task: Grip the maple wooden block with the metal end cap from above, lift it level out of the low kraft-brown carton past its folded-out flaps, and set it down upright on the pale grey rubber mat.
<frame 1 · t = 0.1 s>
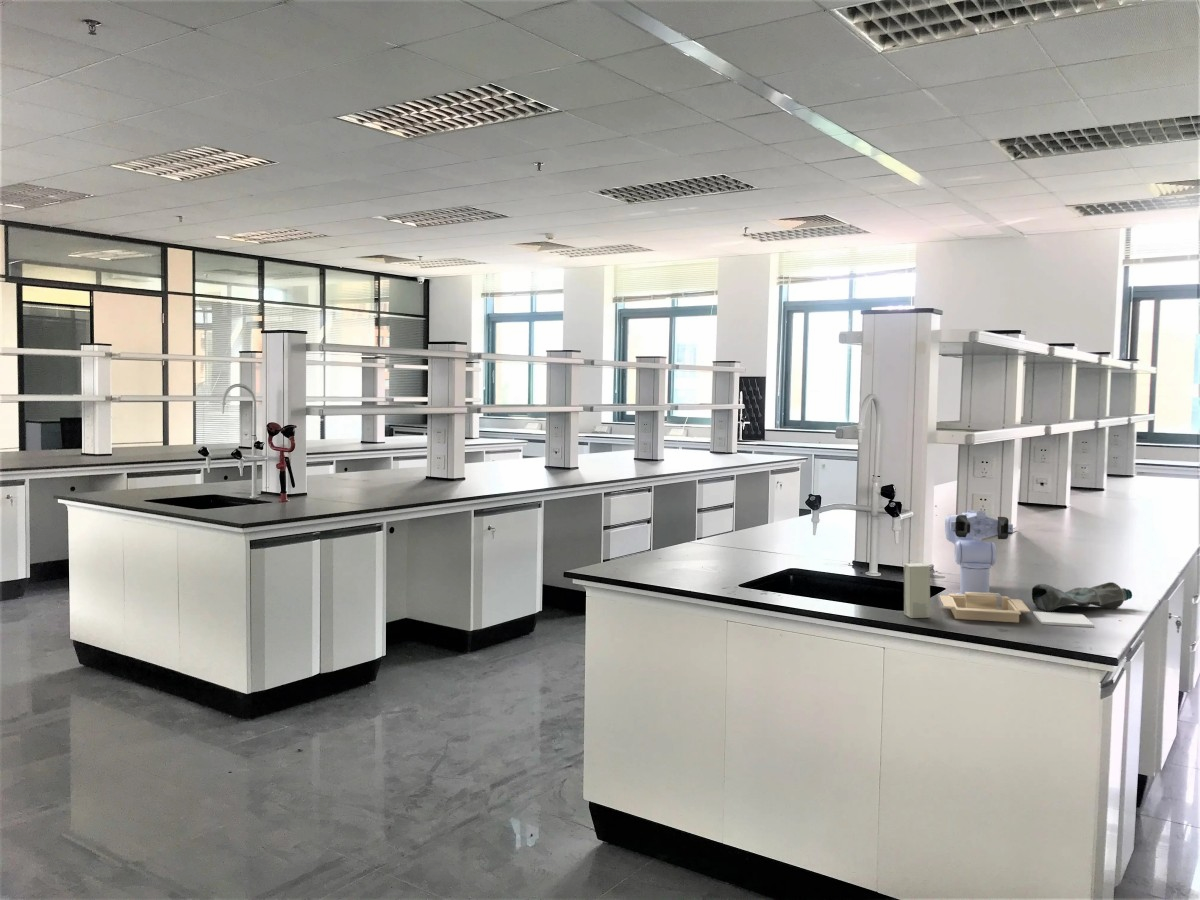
hand: (985, 528, 217), 22 cm above the countertop, fingers open, 7 cm apart
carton: (982, 613, 220), on the countertop
crushed plastic bottle: (1082, 610, 226), on the countertop
box: (916, 617, 218), on the countertop
block: (982, 614, 220), resting in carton
mat: (1062, 620, 214), on the countertop
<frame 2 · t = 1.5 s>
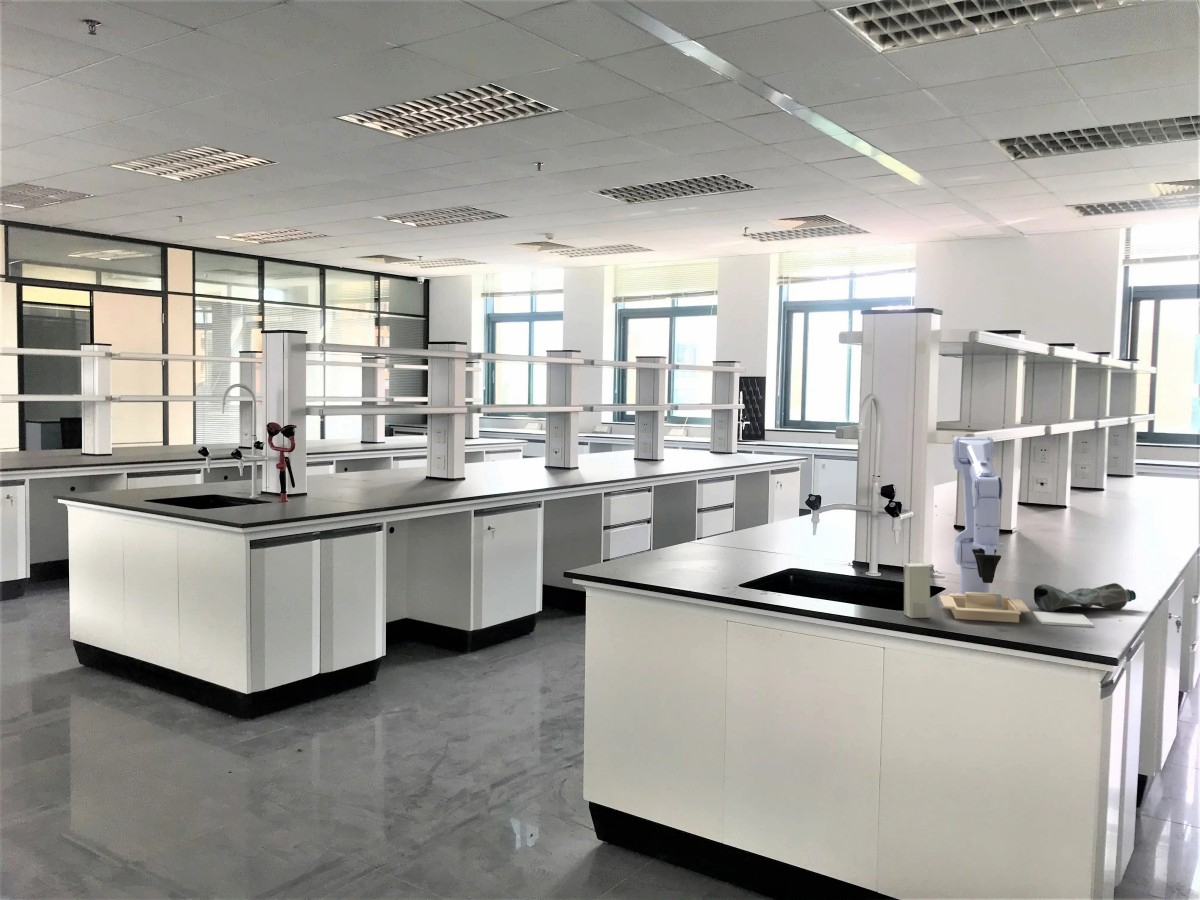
hand: (985, 580, 220), 9 cm above the countertop, fingers open, 7 cm apart
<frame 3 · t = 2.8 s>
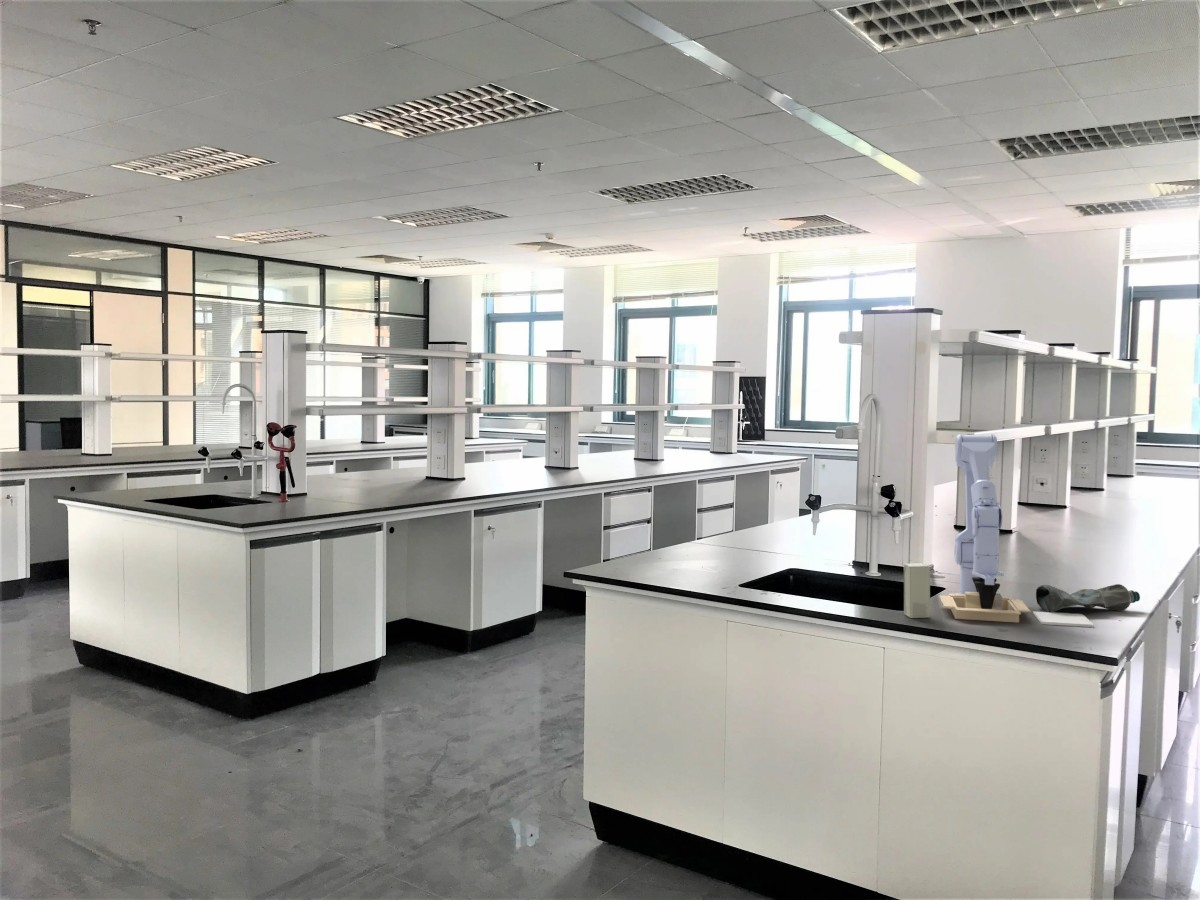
hand: (985, 608, 220), 1 cm above the countertop, fingers closed on block, 4 cm apart
crushed plastic bottle: (1088, 612, 224), on the countertop
block: (982, 614, 220), resting in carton, touching gripper
everything else where it was.
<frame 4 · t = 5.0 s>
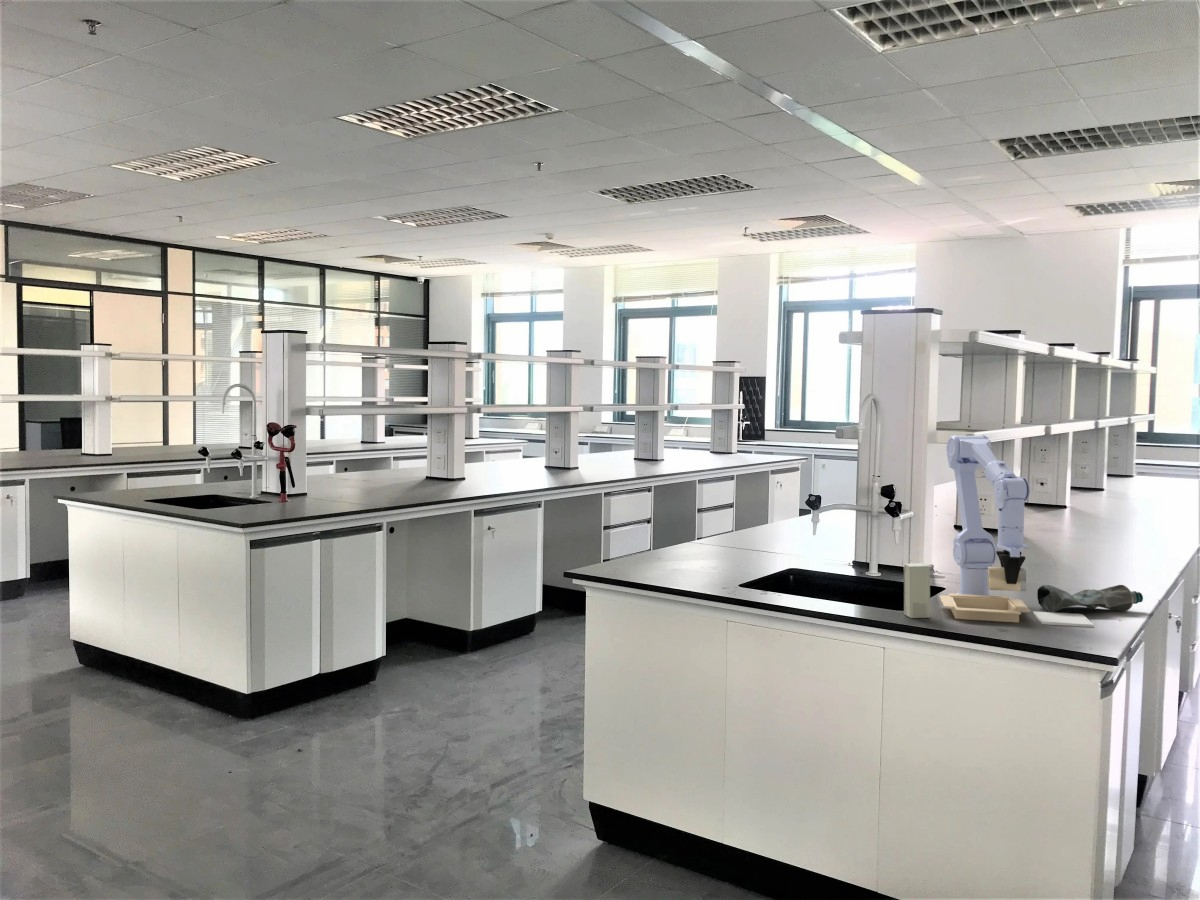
hand: (1009, 582, 218), 8 cm above the countertop, fingers closed on block, 4 cm apart
block: (1006, 589, 218), point 7 cm above the countertop, touching gripper
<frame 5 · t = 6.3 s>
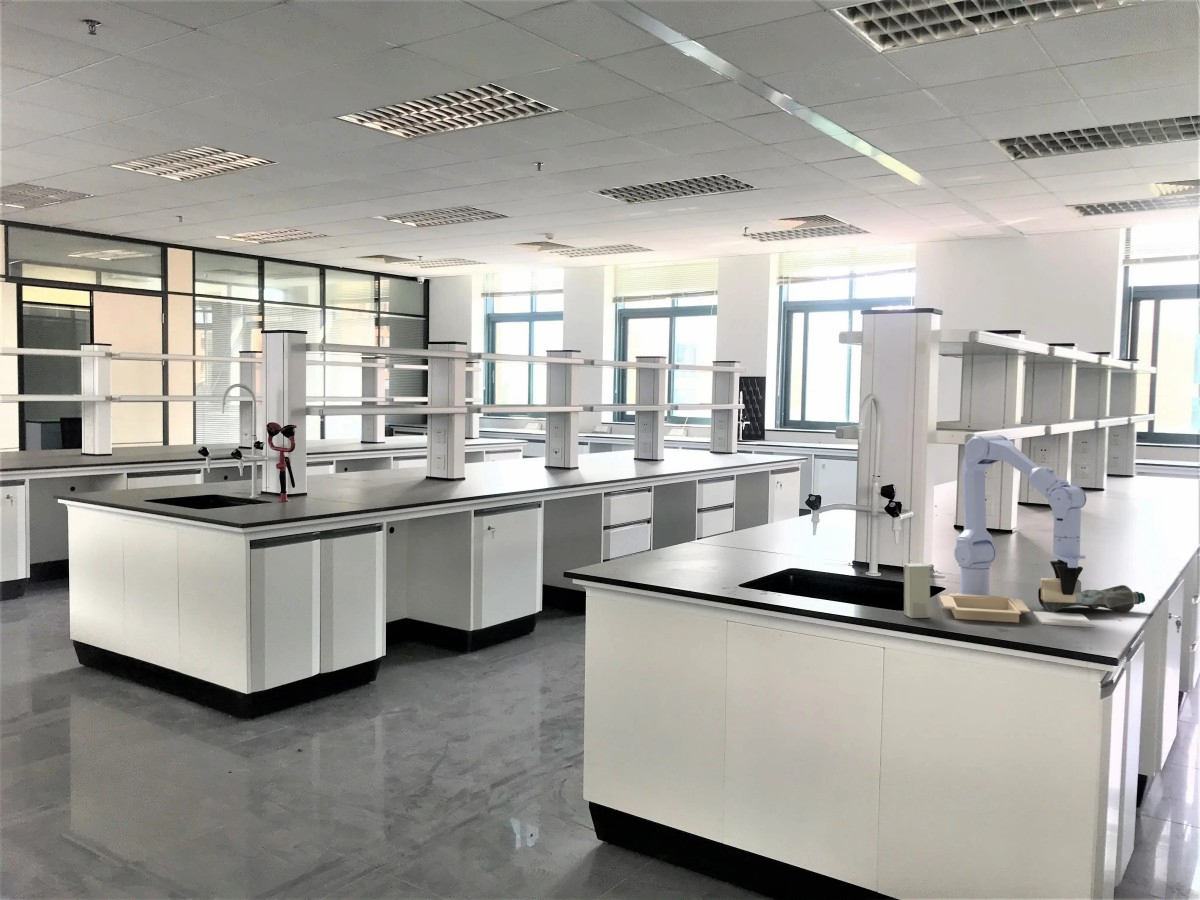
hand: (1065, 592, 213), 7 cm above the countertop, fingers closed on block, 4 cm apart
block: (1060, 600, 214), point 5 cm above the countertop, touching gripper
when the fingers open (3 cm above the countertop, at t = 7.2 s): block stays where it is, resting on mat.
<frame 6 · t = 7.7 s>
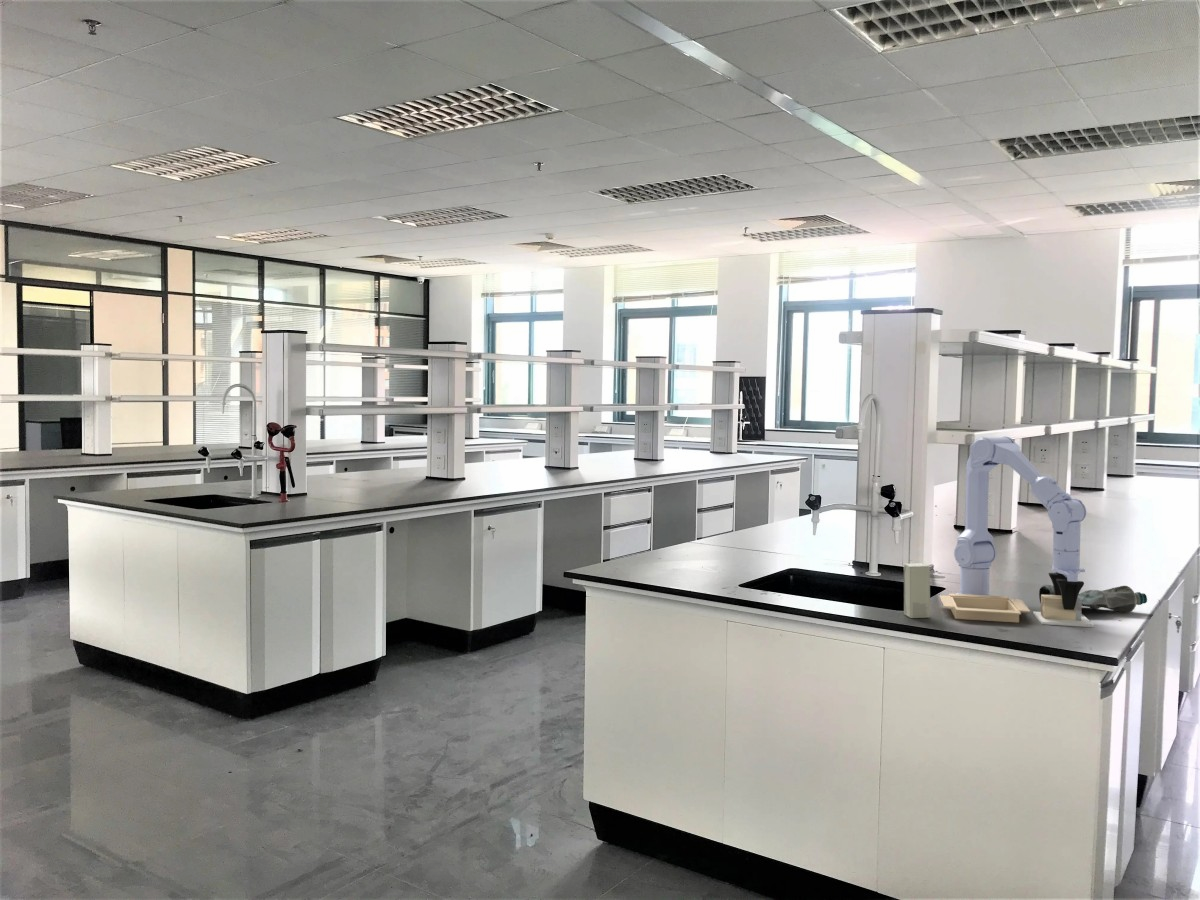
hand: (1065, 606, 213), 4 cm above the countertop, fingers open, 7 cm apart
block: (1060, 617, 214), point 1 cm above the countertop, touching mat
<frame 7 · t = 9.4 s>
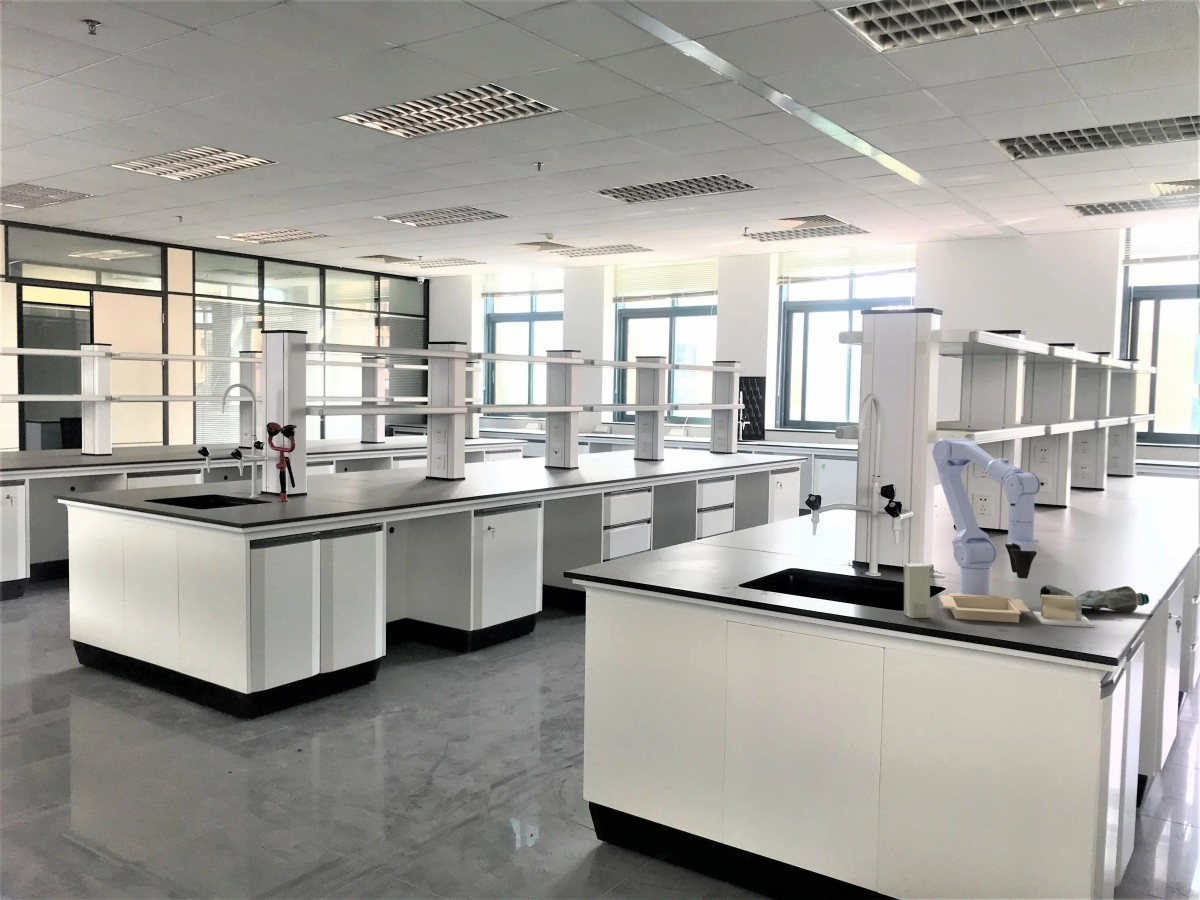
hand: (1019, 575, 222), 9 cm above the countertop, fingers open, 7 cm apart
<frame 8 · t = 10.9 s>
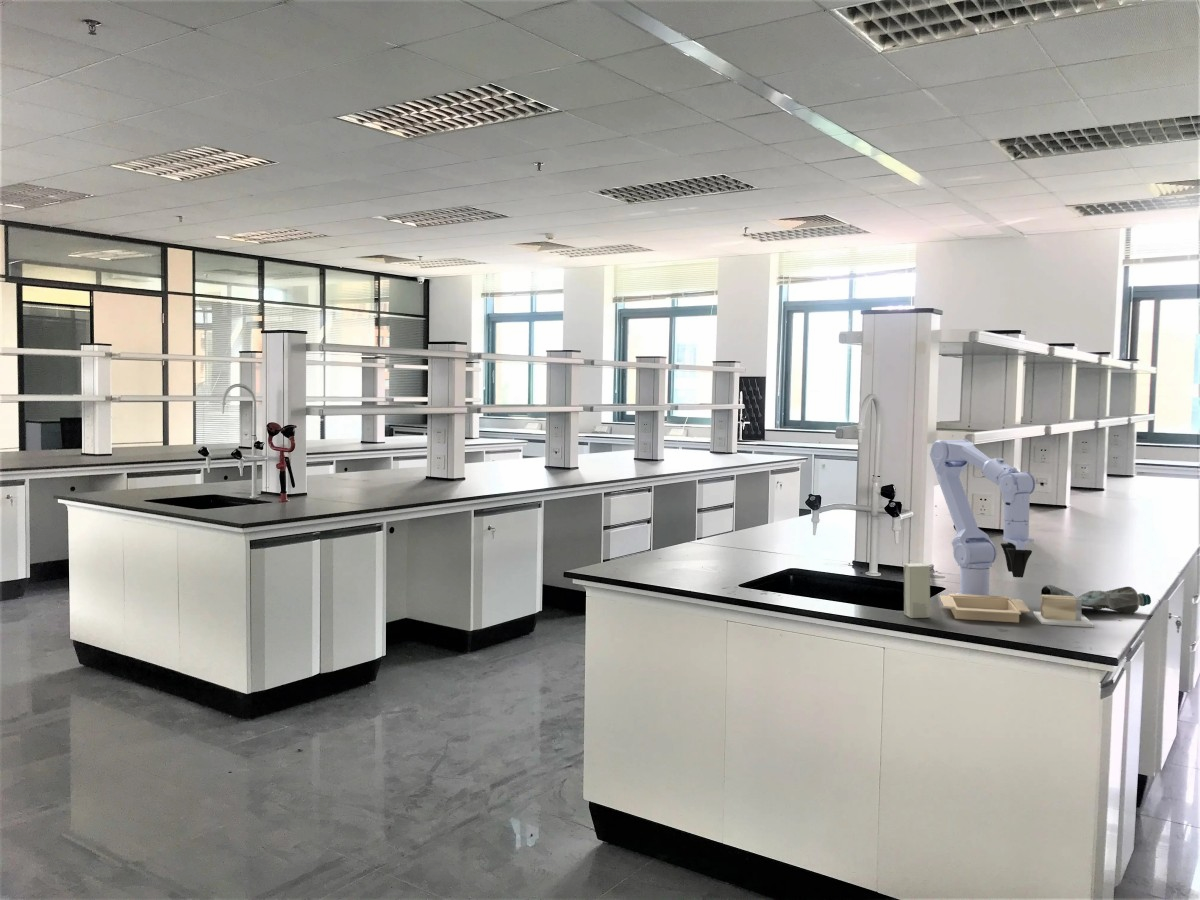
hand: (1015, 574, 223), 9 cm above the countertop, fingers open, 7 cm apart
at the end: block inside the target area on the mat (0.4 cm from its centre), point 0.6 cm above the mat's base; block tilted 0°; the gripper is holding nothing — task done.
